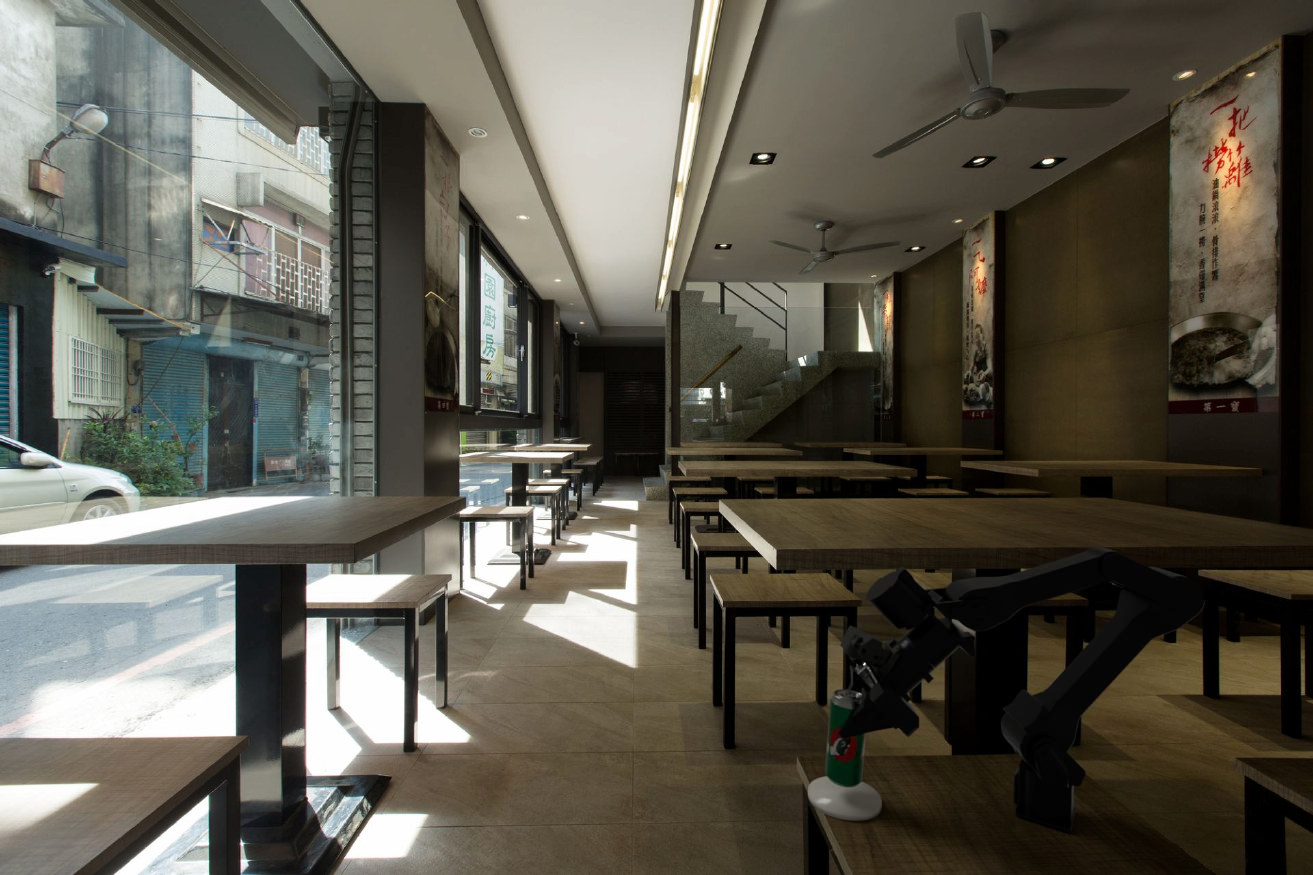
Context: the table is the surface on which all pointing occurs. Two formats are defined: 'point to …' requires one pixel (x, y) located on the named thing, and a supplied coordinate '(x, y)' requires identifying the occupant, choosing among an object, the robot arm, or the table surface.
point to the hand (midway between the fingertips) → (837, 727)
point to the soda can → (844, 742)
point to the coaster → (844, 800)
